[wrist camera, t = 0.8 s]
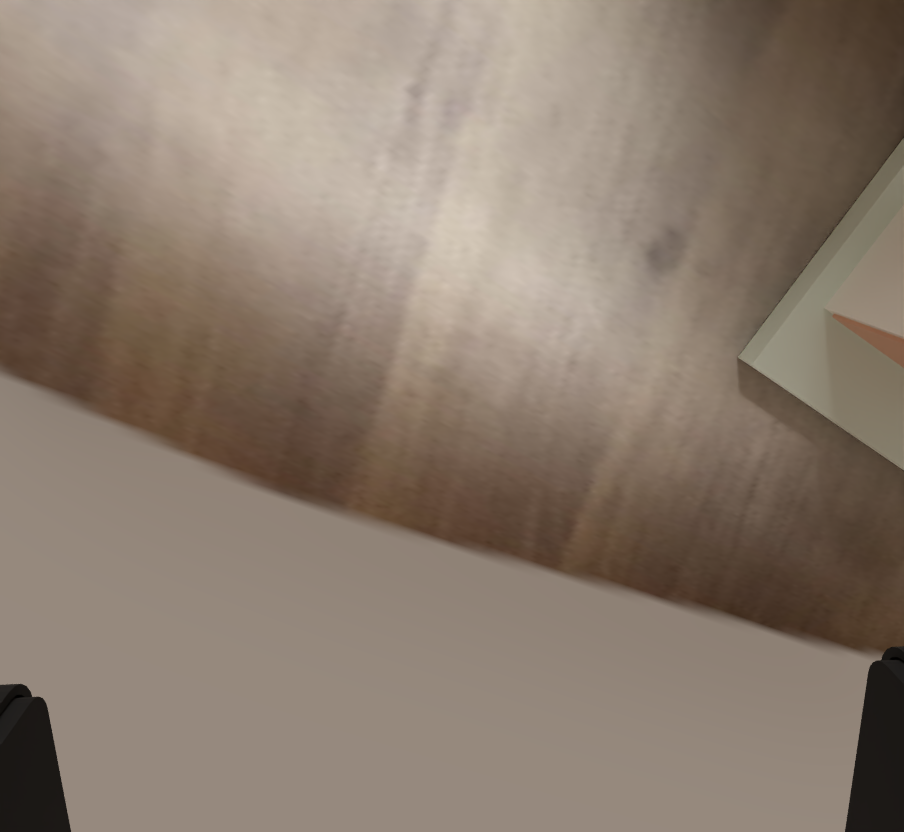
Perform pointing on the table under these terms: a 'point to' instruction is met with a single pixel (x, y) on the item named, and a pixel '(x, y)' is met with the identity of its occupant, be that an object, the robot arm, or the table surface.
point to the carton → (876, 293)
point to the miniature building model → (839, 330)
